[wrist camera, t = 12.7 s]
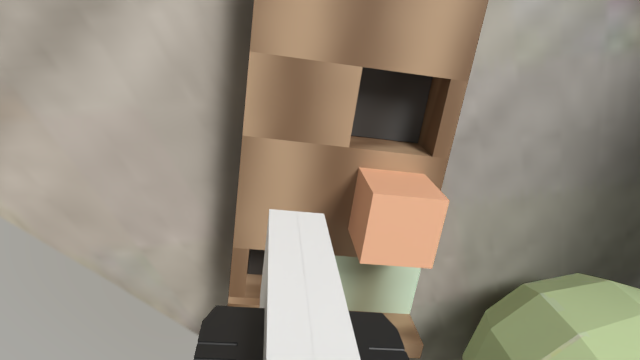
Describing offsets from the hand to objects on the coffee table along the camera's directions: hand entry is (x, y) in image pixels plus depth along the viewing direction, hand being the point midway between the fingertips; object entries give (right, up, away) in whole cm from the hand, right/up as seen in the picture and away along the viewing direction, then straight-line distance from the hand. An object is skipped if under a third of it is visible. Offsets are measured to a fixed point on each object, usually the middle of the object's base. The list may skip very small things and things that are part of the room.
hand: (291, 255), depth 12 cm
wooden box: (+2, +5, +16) cm, 17 cm away
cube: (+5, +1, +14) cm, 15 cm away
